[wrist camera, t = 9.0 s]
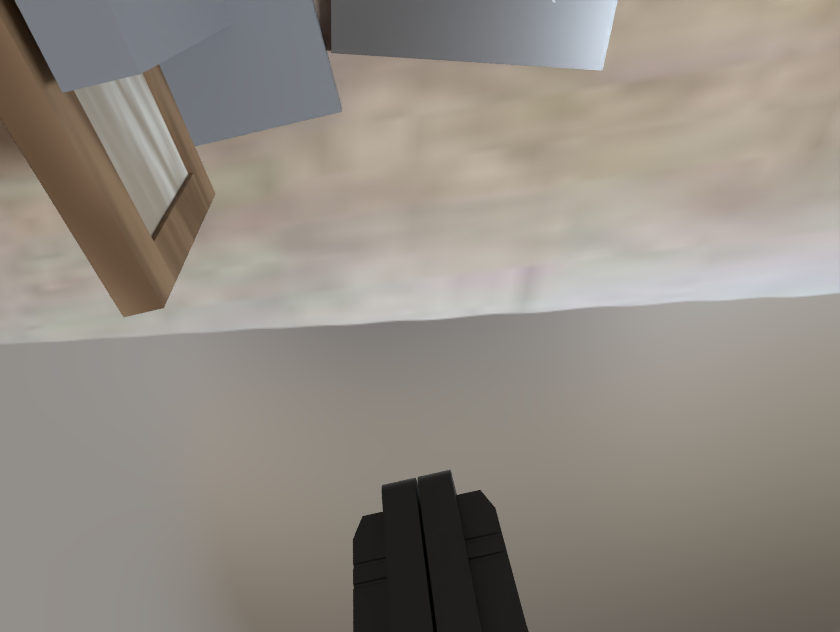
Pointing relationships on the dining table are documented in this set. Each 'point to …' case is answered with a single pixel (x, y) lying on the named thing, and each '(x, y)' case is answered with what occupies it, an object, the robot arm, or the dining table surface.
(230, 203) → the dining table surface
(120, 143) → the picture frame
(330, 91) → the display stand
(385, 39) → the play button award
